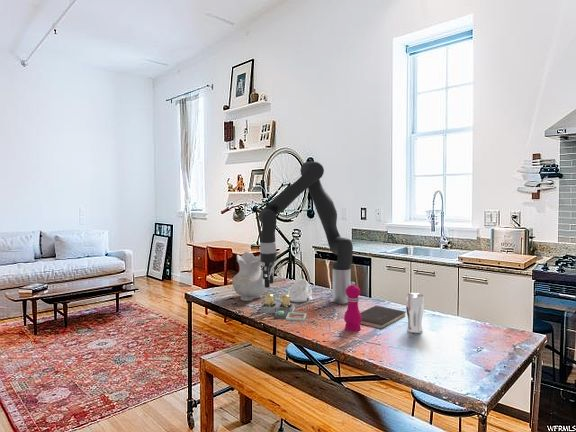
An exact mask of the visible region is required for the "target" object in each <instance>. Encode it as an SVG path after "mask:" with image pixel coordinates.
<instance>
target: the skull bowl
mask: <svg viewBox="0 0 576 432" xmlns="http://www.w3.org/2000/svg"><path fill="white" fill-rule="evenodd" d="M287 294H288V295H290V302H293V303H301V302H303V303H304V302H307V301H308V300H313V297H312V294H313V290H312V288H311V285H310V284H309V282H308V281H307V280H306V279H303V278H301V279H300V278H299V279H297V280H296V281H295V282H294V283H293V284H292V285H291V286H290V287H289V288H288V291H287Z"/></svg>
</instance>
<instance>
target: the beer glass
mask: <svg viewBox="0 0 576 432" xmlns="http://www.w3.org/2000/svg"><path fill="white" fill-rule="evenodd" d="M424 298H425V295H424V294H422V293H418V292H417V293H416V292H409V293H407V294H406V301H405V302H406V303H405V306H406V309H405V310H406V315H407V328H406V331H407V332H408V333H410V334H422V333H423V325H422V323H423V318H424V317H423V316H424V312H425V311H424V310H425V300H424Z"/></svg>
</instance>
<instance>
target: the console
mask: <svg viewBox="0 0 576 432" xmlns="http://www.w3.org/2000/svg"><path fill="white" fill-rule="evenodd" d="M287 315H288V313H287V312H284V315H278V312H276V313H274V317H273V318H274V319H280V320H281V319H283V320H284V319H285V320H286V317H287Z"/></svg>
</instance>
